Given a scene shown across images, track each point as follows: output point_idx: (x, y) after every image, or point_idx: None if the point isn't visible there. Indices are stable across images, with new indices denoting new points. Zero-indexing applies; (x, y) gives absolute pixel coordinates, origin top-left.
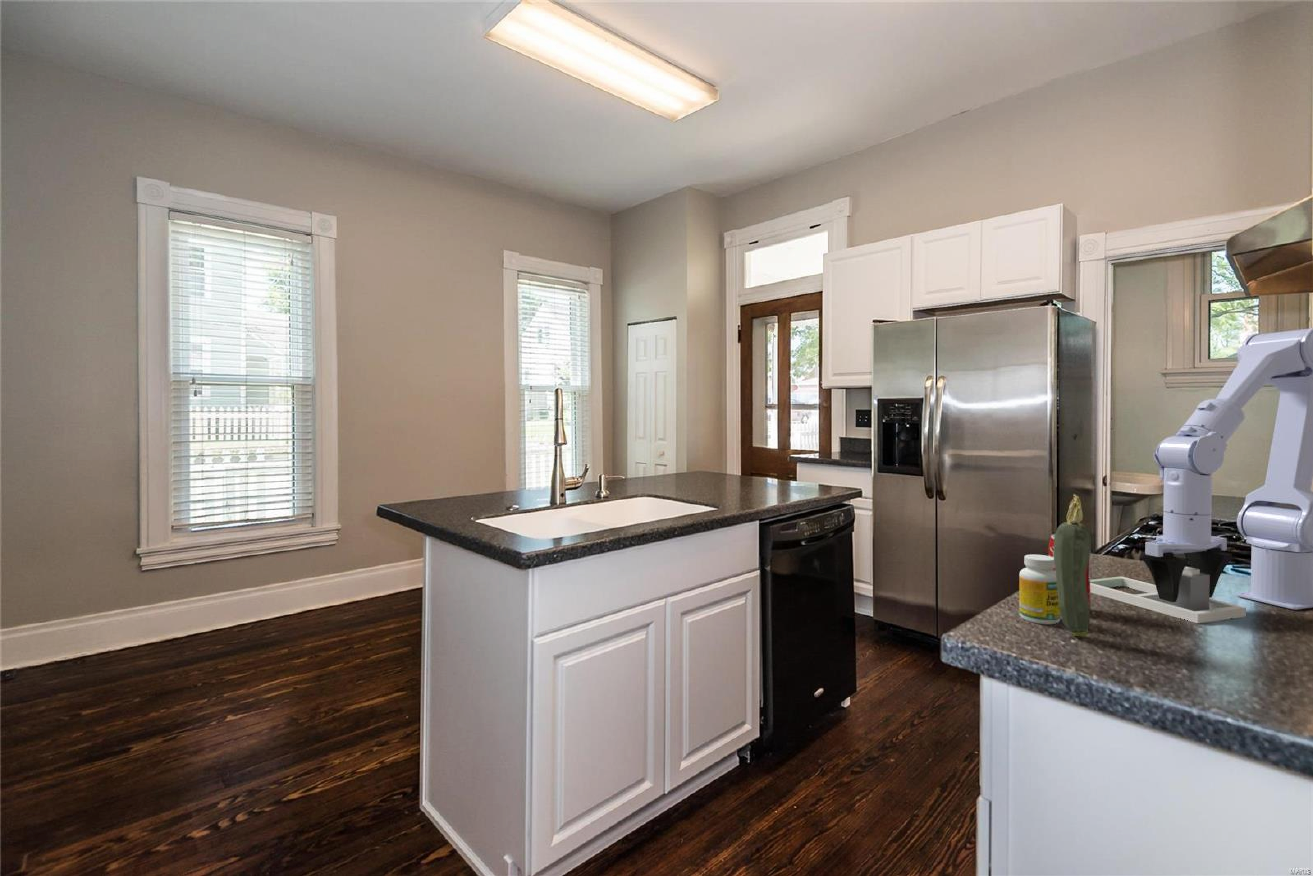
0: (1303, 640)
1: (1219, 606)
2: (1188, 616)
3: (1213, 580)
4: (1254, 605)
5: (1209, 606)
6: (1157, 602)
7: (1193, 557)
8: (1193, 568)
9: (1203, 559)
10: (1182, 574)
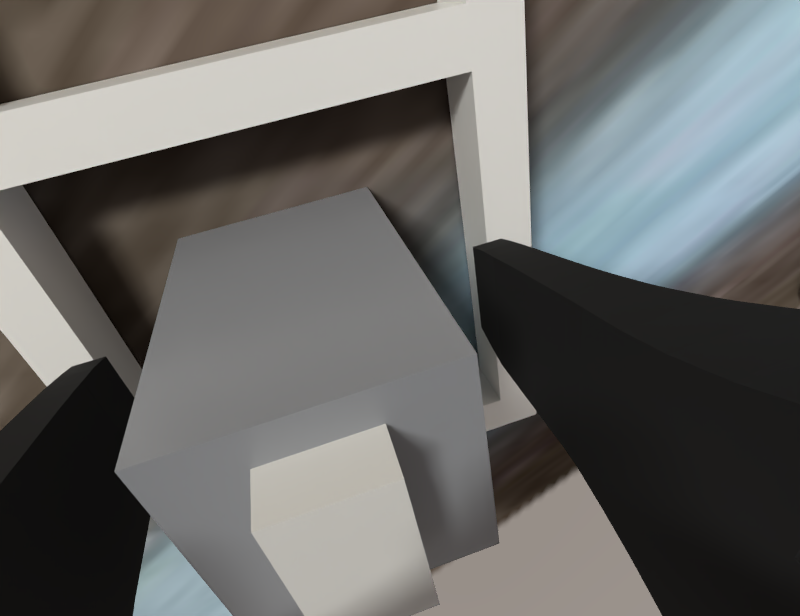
0: (432, 573)
1: (484, 334)
2: None
3: (559, 431)
4: (762, 205)
5: (475, 278)
6: (48, 368)
7: (726, 468)
8: (411, 588)
9: (706, 541)
10: (242, 582)
